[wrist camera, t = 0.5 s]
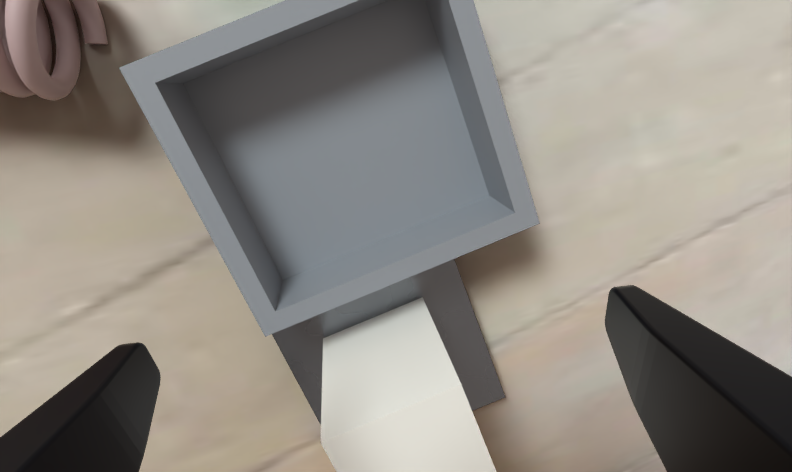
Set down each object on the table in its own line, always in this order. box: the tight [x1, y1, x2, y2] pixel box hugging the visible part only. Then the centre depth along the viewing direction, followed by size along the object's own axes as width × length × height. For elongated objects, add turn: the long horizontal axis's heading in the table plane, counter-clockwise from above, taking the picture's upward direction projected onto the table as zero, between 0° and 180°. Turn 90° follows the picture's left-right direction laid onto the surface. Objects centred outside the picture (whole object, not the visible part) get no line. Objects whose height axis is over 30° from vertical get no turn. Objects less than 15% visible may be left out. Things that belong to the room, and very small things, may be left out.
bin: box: [119, 0, 540, 337], centre depth 19 cm, size 11×12×4 cm
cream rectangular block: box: [321, 297, 496, 472], centre depth 20 cm, size 5×5×7 cm
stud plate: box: [272, 259, 505, 424], centre depth 22 cm, size 9×9×5 cm
